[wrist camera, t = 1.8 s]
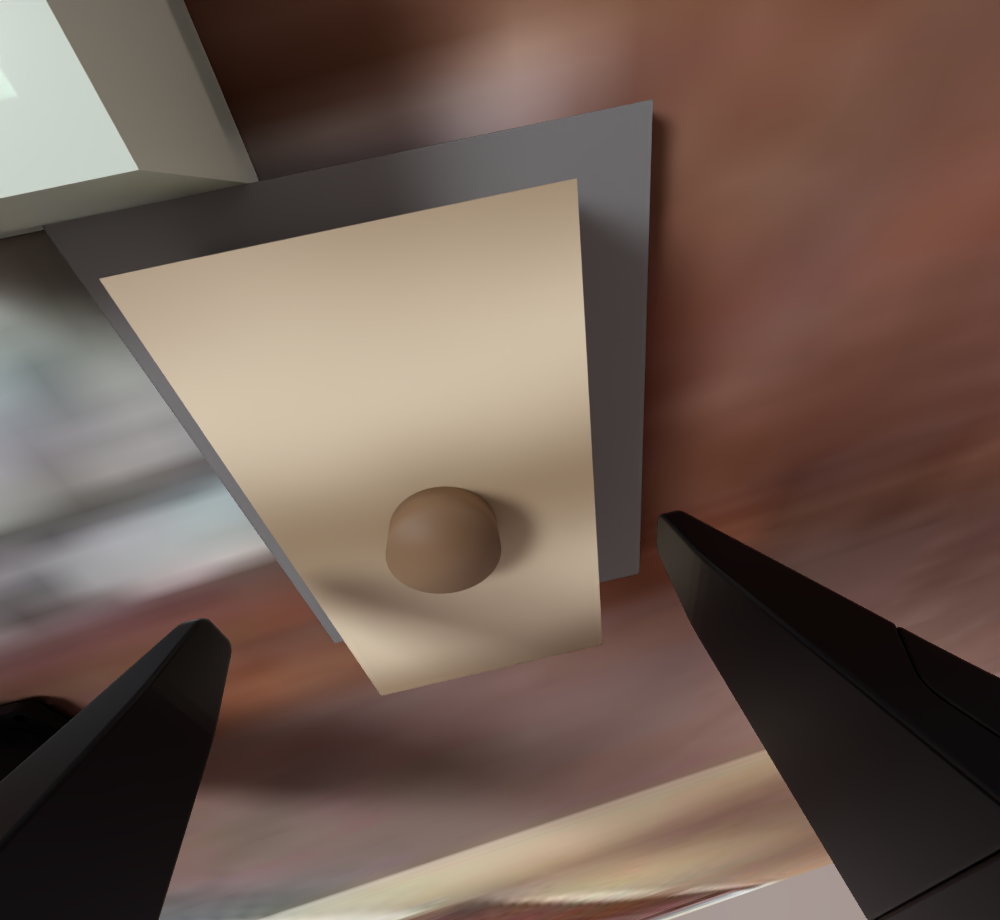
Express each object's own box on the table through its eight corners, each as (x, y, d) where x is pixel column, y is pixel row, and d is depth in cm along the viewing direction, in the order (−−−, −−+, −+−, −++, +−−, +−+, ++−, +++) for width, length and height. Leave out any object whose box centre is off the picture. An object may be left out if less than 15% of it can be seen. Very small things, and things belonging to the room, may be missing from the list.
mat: (632, 561, 16) (639, 573, 15) (338, 629, 16) (334, 643, 15) (639, 106, 8) (652, 99, 8) (66, 225, 8) (41, 225, 8)
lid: (574, 570, 15) (612, 669, 12) (390, 612, 15) (378, 724, 12) (534, 186, 8) (595, 174, 5) (202, 256, 8) (53, 288, 5)
